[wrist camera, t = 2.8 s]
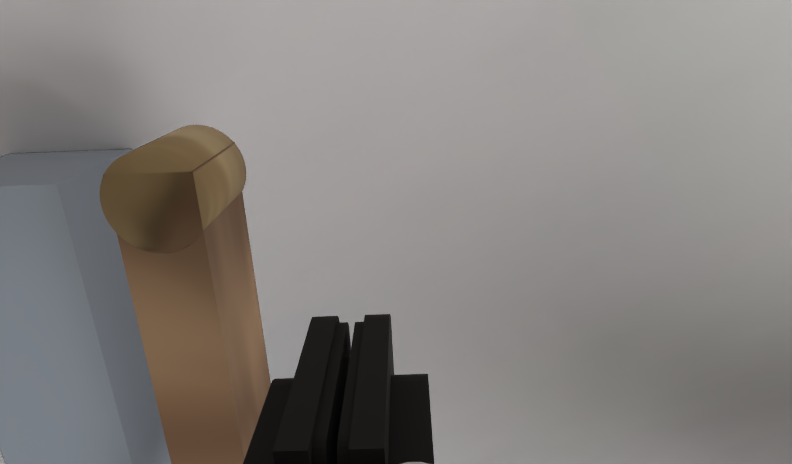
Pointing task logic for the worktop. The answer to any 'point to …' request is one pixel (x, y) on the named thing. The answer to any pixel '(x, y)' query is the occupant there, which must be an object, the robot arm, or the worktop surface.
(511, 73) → the worktop surface
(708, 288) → the worktop surface
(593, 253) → the worktop surface
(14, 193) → the door board
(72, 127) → the worktop surface
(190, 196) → the bar
